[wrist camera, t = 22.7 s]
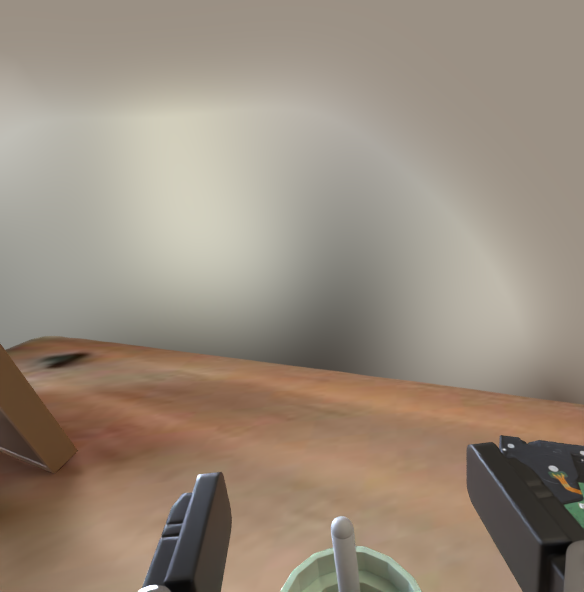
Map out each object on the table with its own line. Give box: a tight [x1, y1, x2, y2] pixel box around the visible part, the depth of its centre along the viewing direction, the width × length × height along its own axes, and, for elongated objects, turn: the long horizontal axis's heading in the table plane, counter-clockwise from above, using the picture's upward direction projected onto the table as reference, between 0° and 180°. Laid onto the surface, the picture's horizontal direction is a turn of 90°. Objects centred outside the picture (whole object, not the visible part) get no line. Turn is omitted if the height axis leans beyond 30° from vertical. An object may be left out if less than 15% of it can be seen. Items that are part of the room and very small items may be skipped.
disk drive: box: [499, 435, 584, 528], centre depth 42 cm, size 10×3×15 cm
